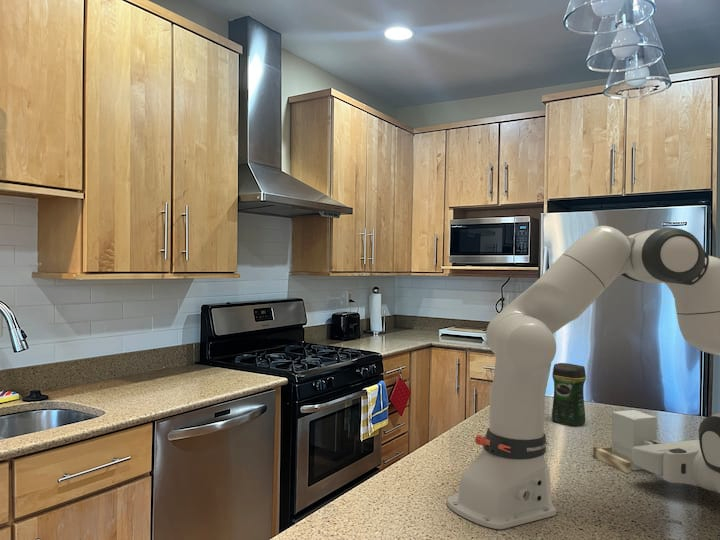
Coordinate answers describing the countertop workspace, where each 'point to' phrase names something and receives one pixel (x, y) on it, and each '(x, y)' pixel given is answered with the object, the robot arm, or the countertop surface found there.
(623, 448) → the supplement box
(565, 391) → the coffee jar
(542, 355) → the robot arm
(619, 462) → the corral
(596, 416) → the countertop surface
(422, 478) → the countertop surface
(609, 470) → the countertop surface
